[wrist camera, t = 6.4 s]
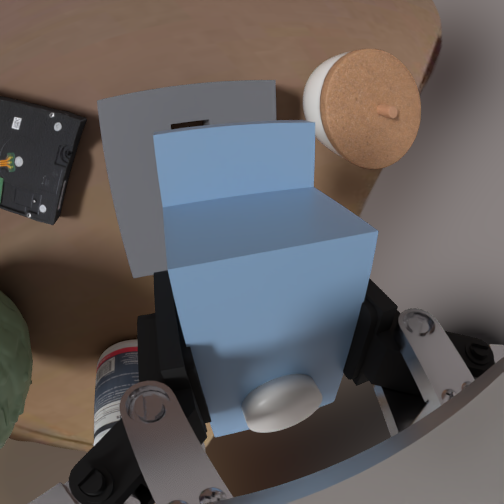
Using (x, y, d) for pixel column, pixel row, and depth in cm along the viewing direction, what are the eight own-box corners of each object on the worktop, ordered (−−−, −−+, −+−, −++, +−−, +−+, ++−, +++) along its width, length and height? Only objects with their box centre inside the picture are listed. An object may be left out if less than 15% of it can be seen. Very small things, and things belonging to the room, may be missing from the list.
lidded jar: (307, 36, 23) (365, 21, 15) (384, 84, 27) (446, 92, 19) (269, 128, 27) (315, 145, 19) (351, 164, 31) (407, 192, 24)
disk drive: (89, 115, 22) (-25, 89, 15) (82, 117, 19) (-40, 91, 13) (62, 215, 25) (-42, 184, 18) (54, 227, 23) (-55, 192, 16)
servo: (155, 122, 11) (147, 166, 4) (261, 112, 12) (409, 148, 5) (194, 345, 17) (229, 477, 10) (265, 329, 18) (324, 447, 11)
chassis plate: (259, 81, 24) (275, 80, 21) (264, 233, 32) (277, 251, 29) (106, 100, 21) (97, 100, 18) (135, 256, 29) (133, 278, 26)
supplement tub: (186, 388, 42) (211, 495, 27) (106, 390, 38) (111, 499, 23) (187, 331, 36) (218, 466, 21) (89, 332, 32) (79, 469, 17)
